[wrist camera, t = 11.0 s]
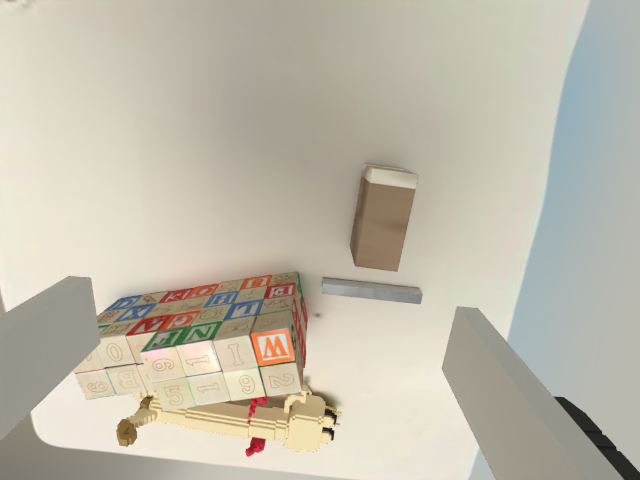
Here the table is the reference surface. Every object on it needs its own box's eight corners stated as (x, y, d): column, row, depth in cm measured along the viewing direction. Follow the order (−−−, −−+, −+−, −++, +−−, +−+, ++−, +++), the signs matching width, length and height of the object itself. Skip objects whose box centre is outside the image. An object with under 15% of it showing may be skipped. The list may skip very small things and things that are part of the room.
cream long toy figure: (153, 413, 45) (335, 443, 44) (109, 474, 37) (332, 513, 36) (150, 350, 42) (345, 380, 41) (101, 402, 34) (344, 441, 33)
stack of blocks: (136, 343, 41) (60, 426, 29) (119, 297, 39) (30, 366, 27) (308, 318, 39) (303, 394, 28) (299, 269, 38) (288, 329, 26)
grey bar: (323, 277, 38) (323, 283, 36) (418, 288, 38) (422, 294, 37) (321, 287, 38) (321, 293, 37) (416, 297, 38) (420, 304, 37)
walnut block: (349, 246, 37) (363, 163, 34) (385, 251, 37) (402, 168, 34) (355, 266, 31) (372, 168, 28) (397, 271, 31) (418, 175, 28)
